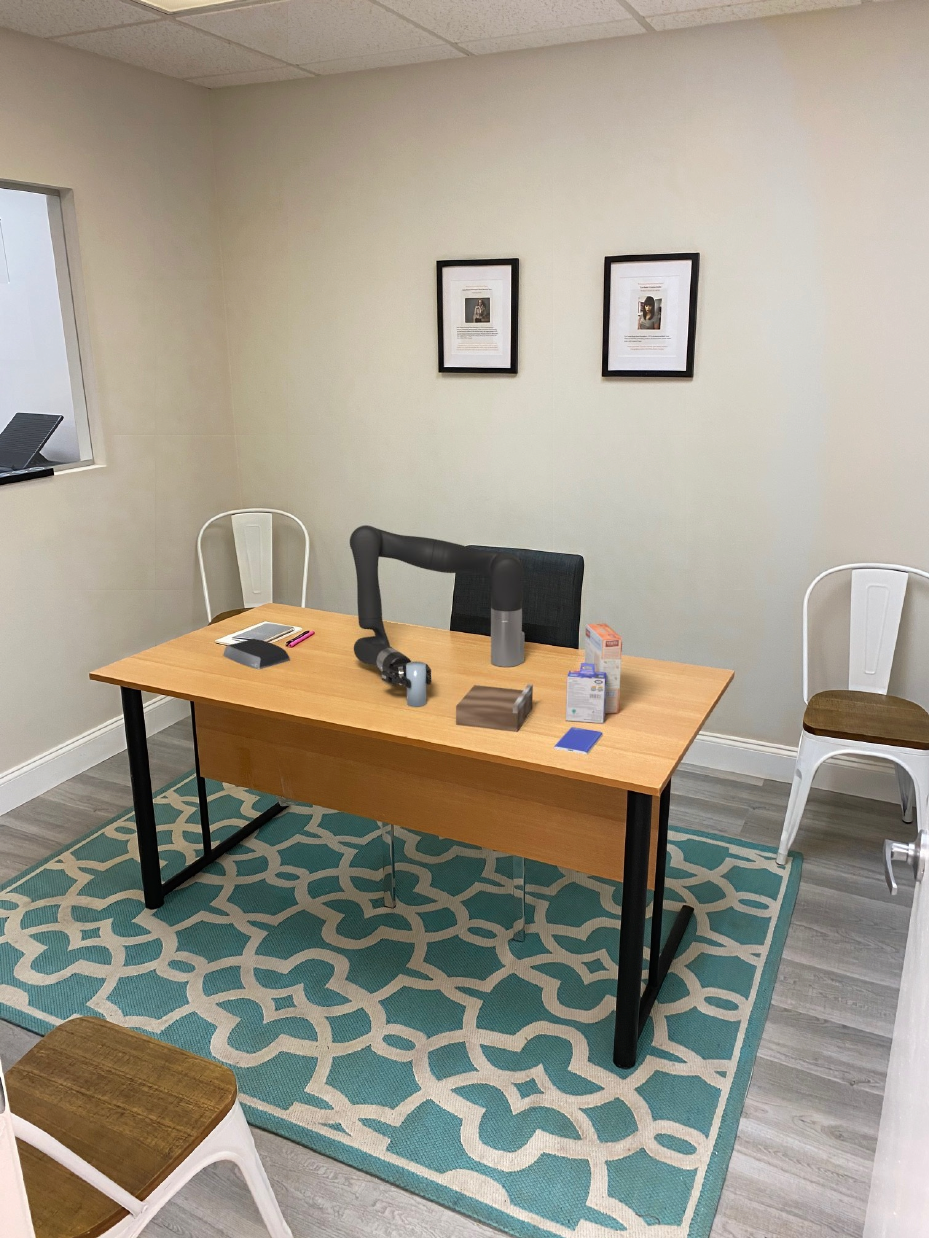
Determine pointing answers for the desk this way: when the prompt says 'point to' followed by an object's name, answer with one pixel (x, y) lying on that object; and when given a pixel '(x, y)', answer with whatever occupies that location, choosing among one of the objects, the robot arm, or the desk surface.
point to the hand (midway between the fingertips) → (419, 682)
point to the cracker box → (605, 659)
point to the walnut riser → (495, 707)
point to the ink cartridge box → (586, 695)
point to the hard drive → (578, 740)
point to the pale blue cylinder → (416, 684)
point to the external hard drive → (256, 653)
